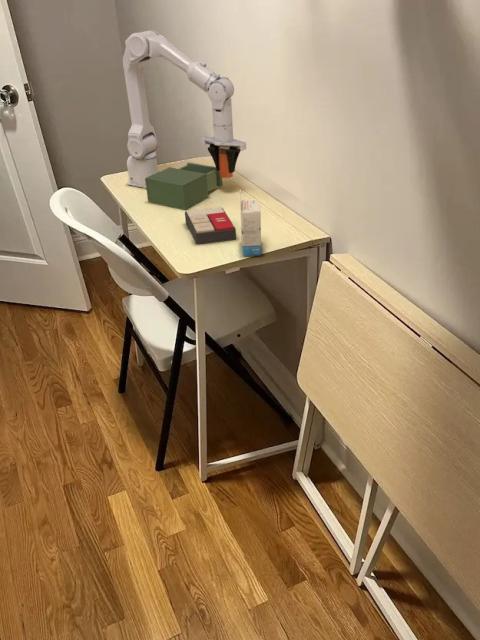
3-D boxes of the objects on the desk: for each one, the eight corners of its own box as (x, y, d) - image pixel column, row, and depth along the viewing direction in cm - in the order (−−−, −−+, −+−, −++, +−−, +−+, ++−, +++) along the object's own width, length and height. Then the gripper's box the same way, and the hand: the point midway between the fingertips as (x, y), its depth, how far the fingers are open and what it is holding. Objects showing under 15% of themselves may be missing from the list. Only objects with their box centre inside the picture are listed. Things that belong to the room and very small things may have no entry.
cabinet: (172, 190, 184) (169, 167, 179) (208, 197, 179) (206, 173, 174) (148, 202, 175) (144, 178, 170) (185, 210, 170) (183, 185, 166)
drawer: (197, 176, 193) (195, 159, 189) (228, 182, 188) (228, 164, 185) (170, 189, 182) (167, 171, 178) (203, 196, 177) (201, 177, 174)
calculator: (195, 231, 148) (184, 208, 159) (196, 246, 151) (185, 223, 161) (236, 226, 151) (222, 204, 161) (236, 241, 153) (223, 219, 164)
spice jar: (216, 176, 177) (214, 148, 172) (224, 173, 180) (222, 144, 175) (228, 178, 176) (227, 150, 171) (236, 175, 179) (234, 146, 174)
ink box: (261, 256, 145) (260, 199, 136) (242, 256, 144) (240, 199, 135) (260, 242, 152) (259, 187, 143) (241, 243, 151) (239, 187, 142)
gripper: (194, 124, 168) (198, 171, 177) (236, 130, 163) (238, 178, 171) (208, 119, 173) (211, 165, 182) (249, 125, 168) (250, 171, 176)
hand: (225, 171), depth 177 cm, fingers closed on spice jar, 4 cm apart
